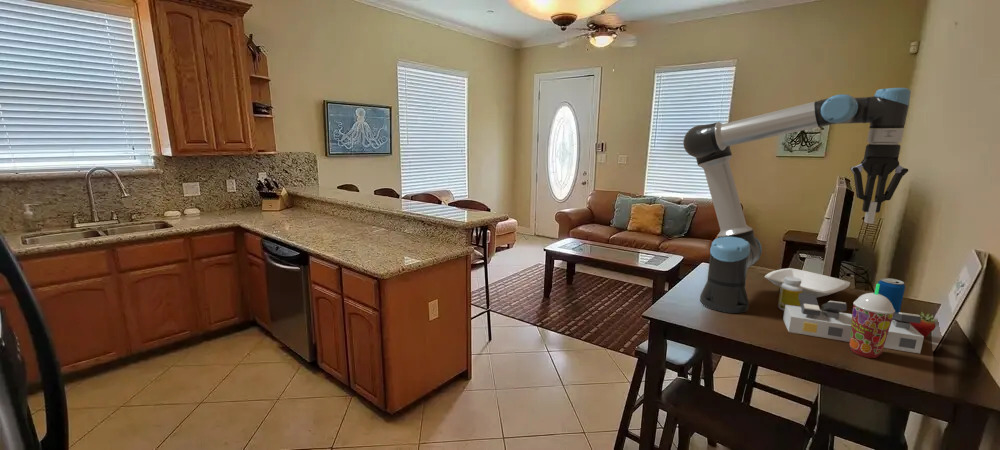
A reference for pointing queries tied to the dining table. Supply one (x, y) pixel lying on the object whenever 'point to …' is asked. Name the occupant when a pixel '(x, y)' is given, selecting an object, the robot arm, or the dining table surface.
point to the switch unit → (849, 328)
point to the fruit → (924, 325)
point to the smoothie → (870, 324)
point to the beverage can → (892, 291)
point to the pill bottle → (790, 292)
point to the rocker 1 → (809, 304)
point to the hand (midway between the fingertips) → (868, 222)
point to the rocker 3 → (907, 317)
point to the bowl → (809, 281)
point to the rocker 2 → (834, 306)
